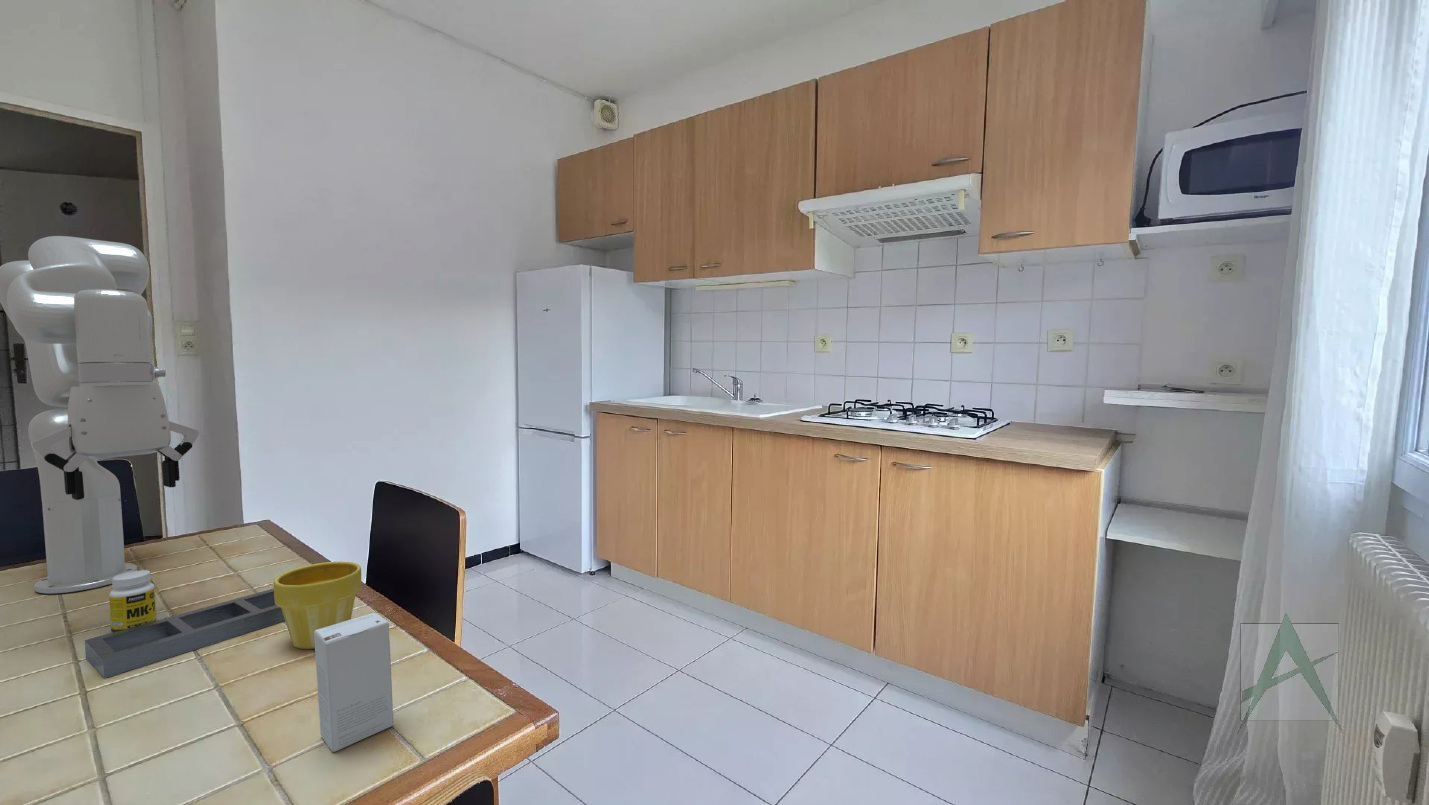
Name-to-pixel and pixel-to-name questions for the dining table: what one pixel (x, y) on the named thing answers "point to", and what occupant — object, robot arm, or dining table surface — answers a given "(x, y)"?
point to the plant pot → (316, 598)
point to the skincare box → (353, 680)
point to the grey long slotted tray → (181, 633)
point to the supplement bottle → (132, 600)
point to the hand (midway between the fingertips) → (126, 492)
